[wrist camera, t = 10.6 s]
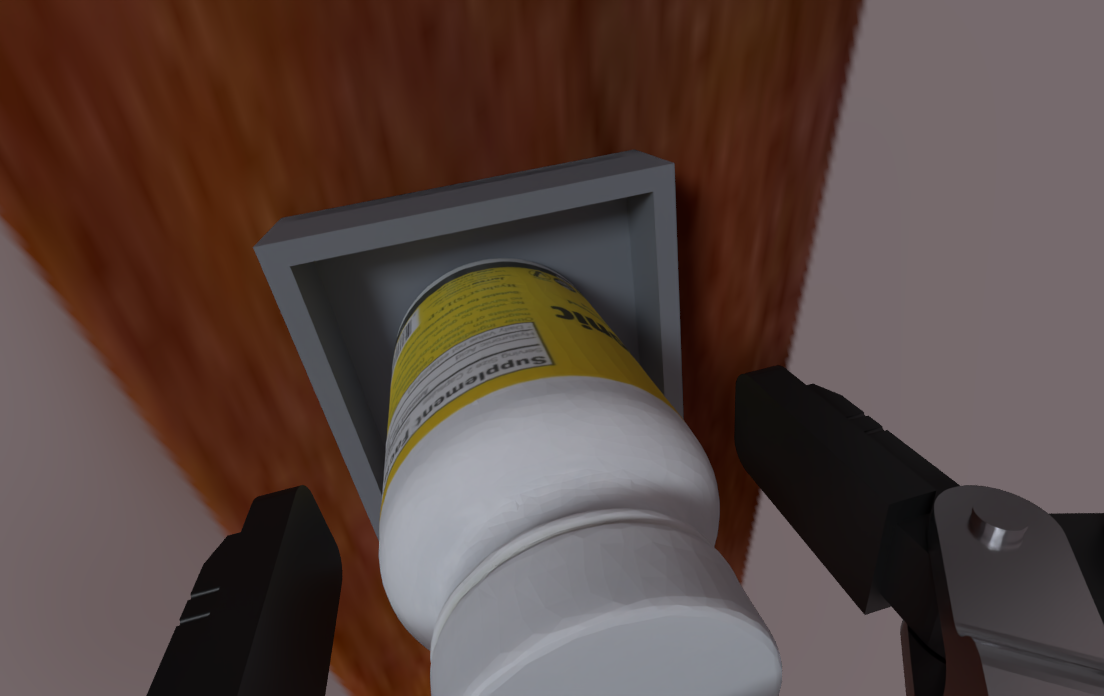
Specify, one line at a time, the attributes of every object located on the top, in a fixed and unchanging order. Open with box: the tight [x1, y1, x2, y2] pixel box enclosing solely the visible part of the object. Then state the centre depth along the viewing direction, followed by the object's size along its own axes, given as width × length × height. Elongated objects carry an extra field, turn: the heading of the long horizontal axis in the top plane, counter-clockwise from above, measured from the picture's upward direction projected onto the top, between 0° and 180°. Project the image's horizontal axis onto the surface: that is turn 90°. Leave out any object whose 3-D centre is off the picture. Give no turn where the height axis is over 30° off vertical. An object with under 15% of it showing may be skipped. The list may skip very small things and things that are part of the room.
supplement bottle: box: [379, 258, 782, 696], centre depth 10 cm, size 5×5×10 cm
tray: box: [253, 150, 684, 540], centre depth 14 cm, size 9×9×2 cm
